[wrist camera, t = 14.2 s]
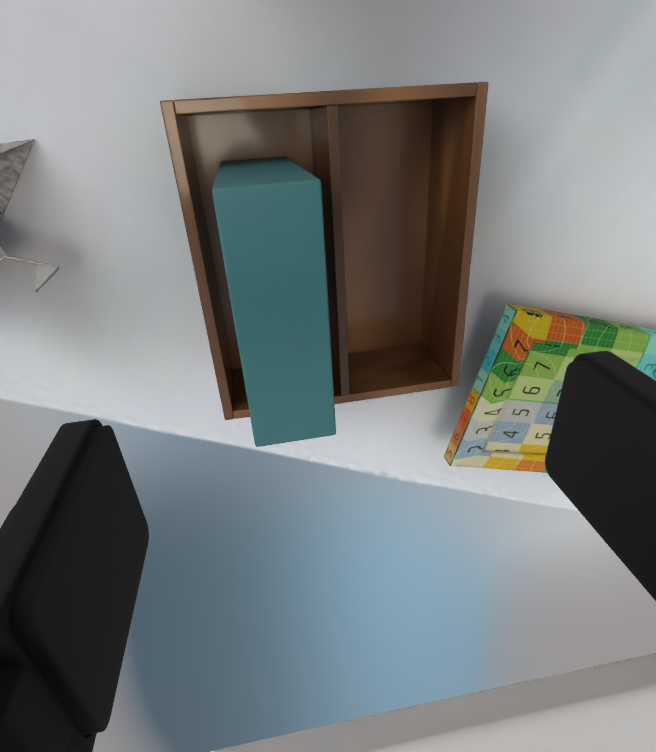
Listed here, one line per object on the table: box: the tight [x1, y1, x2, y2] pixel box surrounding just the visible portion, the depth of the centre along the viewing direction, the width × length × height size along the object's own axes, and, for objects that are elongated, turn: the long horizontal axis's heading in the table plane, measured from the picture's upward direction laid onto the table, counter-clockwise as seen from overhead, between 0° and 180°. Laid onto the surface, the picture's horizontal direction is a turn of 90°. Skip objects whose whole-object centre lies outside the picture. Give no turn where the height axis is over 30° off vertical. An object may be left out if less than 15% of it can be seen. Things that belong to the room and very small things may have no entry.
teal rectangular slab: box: [212, 156, 336, 447], centre depth 21 cm, size 3×10×11 cm, turn 3°
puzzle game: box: [444, 304, 656, 473], centre depth 33 cm, size 12×5×20 cm
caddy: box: [160, 82, 488, 420], centre depth 25 cm, size 14×15×6 cm
